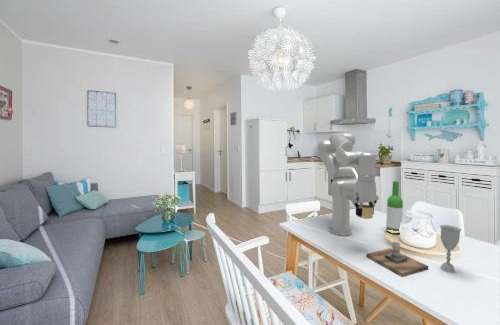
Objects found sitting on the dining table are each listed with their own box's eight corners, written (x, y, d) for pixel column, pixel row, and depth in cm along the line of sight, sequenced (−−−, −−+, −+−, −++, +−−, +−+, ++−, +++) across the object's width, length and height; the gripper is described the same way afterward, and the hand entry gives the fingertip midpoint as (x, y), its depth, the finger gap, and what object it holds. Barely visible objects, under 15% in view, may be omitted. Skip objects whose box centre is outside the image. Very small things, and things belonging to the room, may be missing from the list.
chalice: (449, 275, 98) (452, 231, 96) (433, 266, 104) (435, 226, 103) (463, 272, 100) (466, 229, 98) (445, 264, 106) (448, 224, 105)
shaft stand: (366, 256, 114) (366, 238, 113) (390, 251, 119) (391, 233, 118) (401, 276, 97) (402, 255, 97) (427, 269, 103) (429, 248, 102)
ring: (354, 215, 121) (354, 205, 120) (364, 213, 123) (365, 203, 123) (364, 219, 115) (365, 209, 114) (375, 217, 117) (376, 207, 116)
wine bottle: (398, 235, 137) (400, 183, 134) (383, 232, 143) (385, 181, 140) (403, 232, 142) (405, 181, 139) (389, 228, 148) (391, 179, 145)
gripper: (373, 176, 123) (372, 210, 125) (345, 178, 117) (344, 214, 119) (386, 178, 116) (384, 214, 118) (357, 181, 110) (356, 219, 112)
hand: (364, 214), depth 119 cm, fingers closed on ring, 6 cm apart
